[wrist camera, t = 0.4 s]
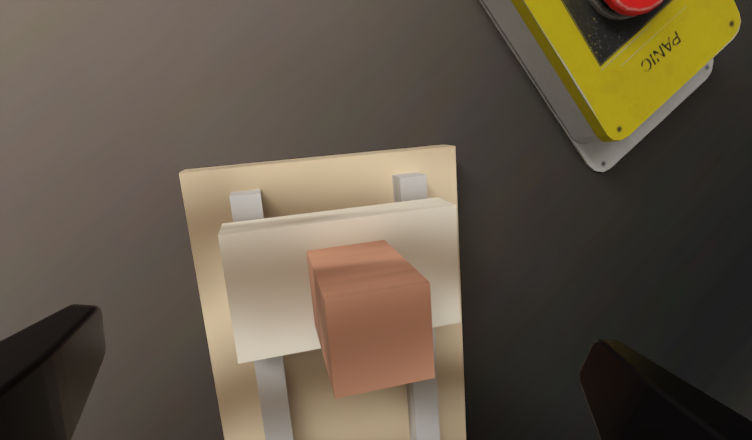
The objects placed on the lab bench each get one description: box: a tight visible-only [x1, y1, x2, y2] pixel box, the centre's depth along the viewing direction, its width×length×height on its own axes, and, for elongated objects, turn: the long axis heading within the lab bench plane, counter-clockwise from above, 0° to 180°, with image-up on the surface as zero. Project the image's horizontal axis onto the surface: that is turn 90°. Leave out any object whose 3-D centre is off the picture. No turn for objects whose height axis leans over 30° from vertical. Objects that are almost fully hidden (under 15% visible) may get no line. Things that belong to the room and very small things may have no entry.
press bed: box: [179, 145, 466, 440], centre depth 21 cm, size 22×12×6 cm, turn 4°
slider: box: [218, 197, 461, 399], centre depth 16 cm, size 5×9×7 cm, turn 94°
